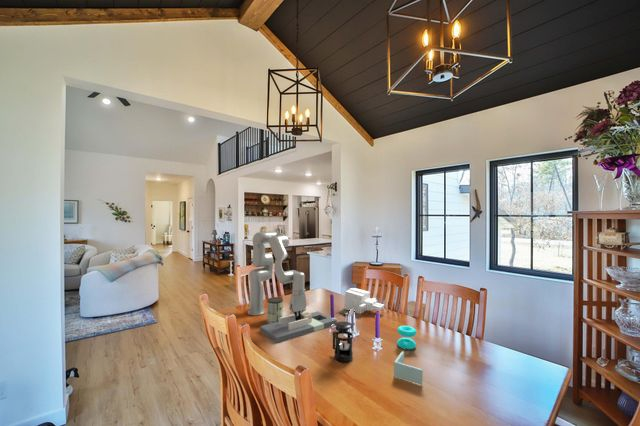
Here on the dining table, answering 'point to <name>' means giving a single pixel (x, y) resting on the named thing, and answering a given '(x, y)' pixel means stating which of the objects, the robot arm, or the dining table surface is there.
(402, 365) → the l-shaped corner panel
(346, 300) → the blocky voxel creature
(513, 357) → the dining table surface
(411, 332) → the donuts
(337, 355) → the french press
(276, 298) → the coffee can
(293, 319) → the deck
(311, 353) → the dining table surface
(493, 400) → the dining table surface
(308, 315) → the birch block
